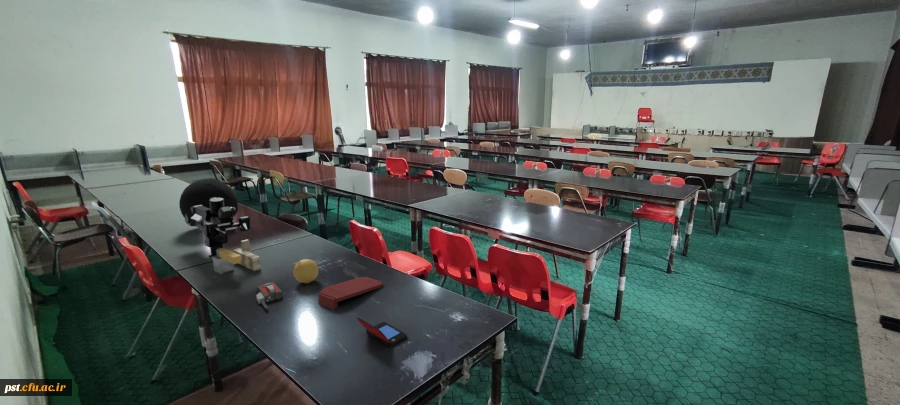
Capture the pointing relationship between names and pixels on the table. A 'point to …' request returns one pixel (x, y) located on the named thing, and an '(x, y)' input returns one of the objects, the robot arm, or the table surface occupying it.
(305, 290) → the table surface
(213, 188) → the sphere
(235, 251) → the grey-beige crossed blocks
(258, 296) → the walkie-talkie
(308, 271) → the stress ball
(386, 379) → the table surface
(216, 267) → the jamb post
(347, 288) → the dark red long block
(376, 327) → the handheld game console
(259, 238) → the table surface
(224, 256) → the bar
